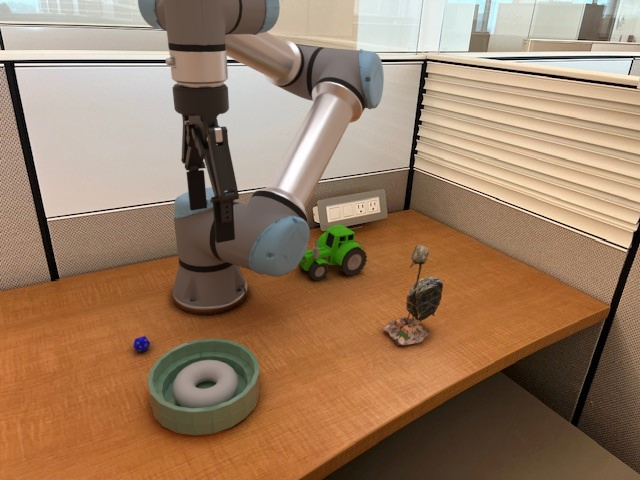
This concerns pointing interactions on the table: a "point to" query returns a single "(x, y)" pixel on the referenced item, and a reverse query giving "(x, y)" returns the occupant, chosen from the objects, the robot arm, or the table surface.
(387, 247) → the table surface
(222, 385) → the donut
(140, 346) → the die
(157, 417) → the green ribbed bowl
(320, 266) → the toy tractor
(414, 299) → the stacked rock sculpture
